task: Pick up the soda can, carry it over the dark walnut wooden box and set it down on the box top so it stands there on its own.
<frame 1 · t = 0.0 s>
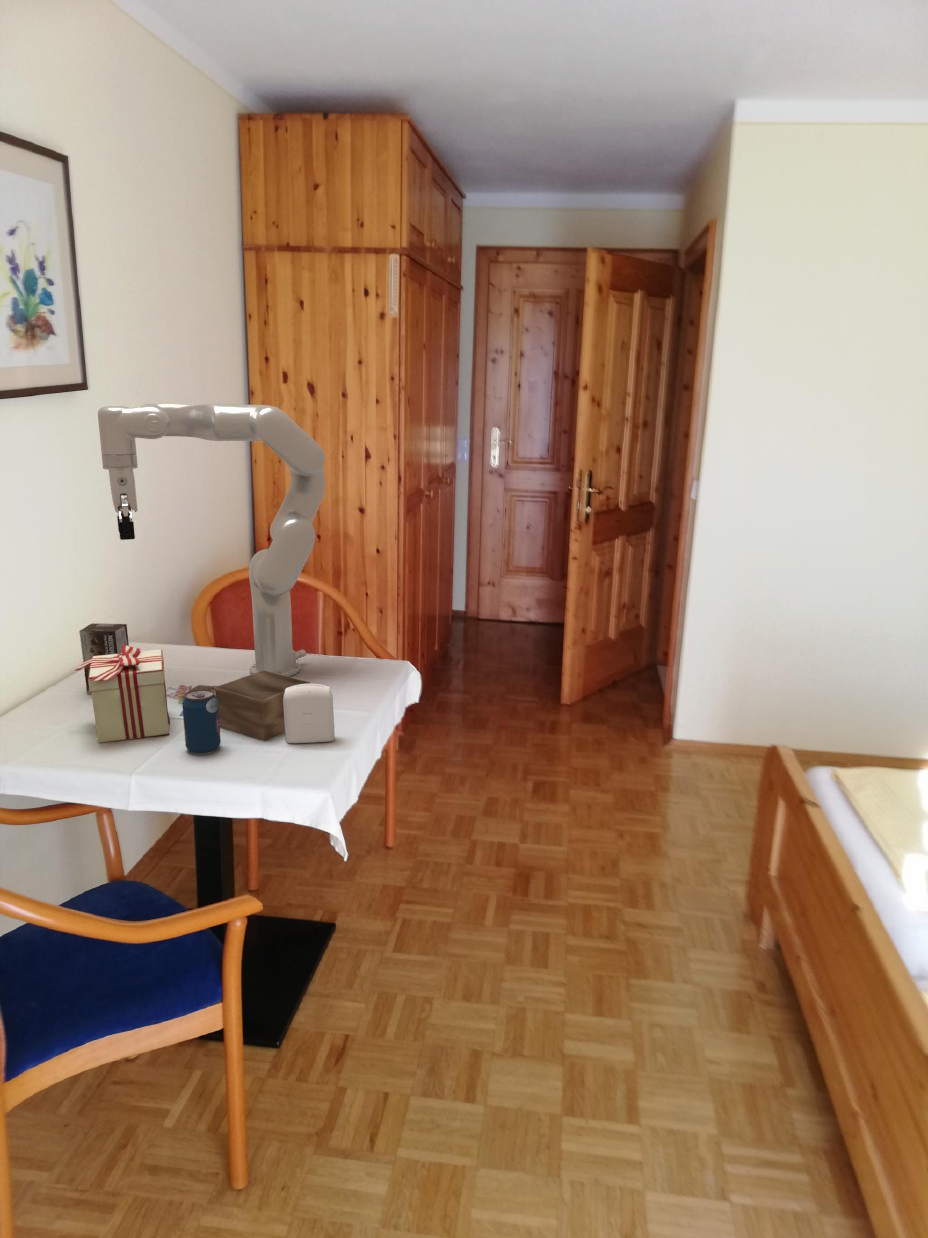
hand: (126, 535, 217), 37 cm above the table, tool pointing down, fingers open, 9 cm apart
photo printer: (310, 741, 195), on the table
walnut box: (264, 723, 204), on the table
coffee box: (110, 691, 224), on the table
soda can: (203, 750, 190), on the table
gift box: (127, 730, 201), on the table
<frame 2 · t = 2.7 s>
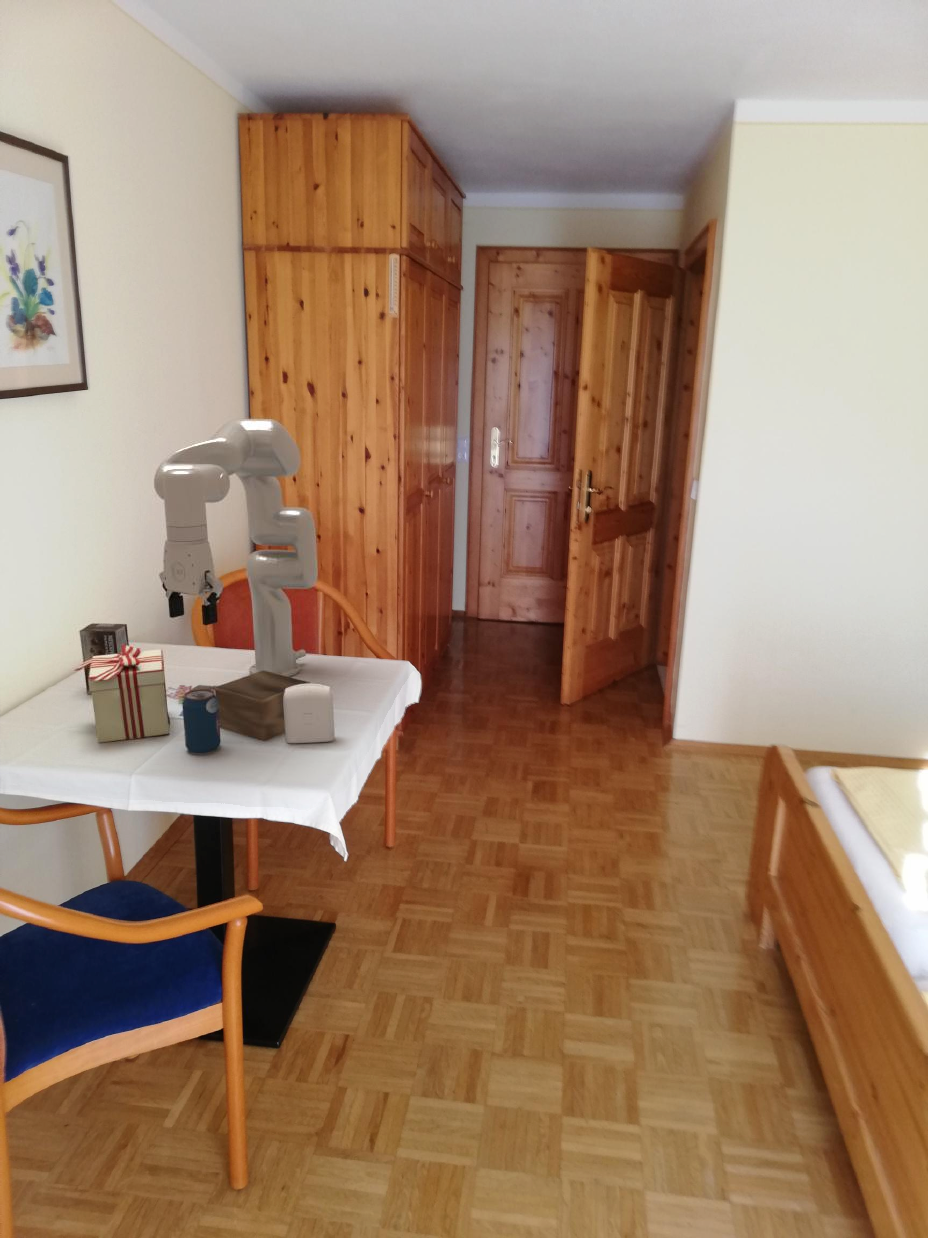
hand: (193, 620, 183), 27 cm above the table, tool pointing down, fingers open, 9 cm apart
nothing on the table moved.
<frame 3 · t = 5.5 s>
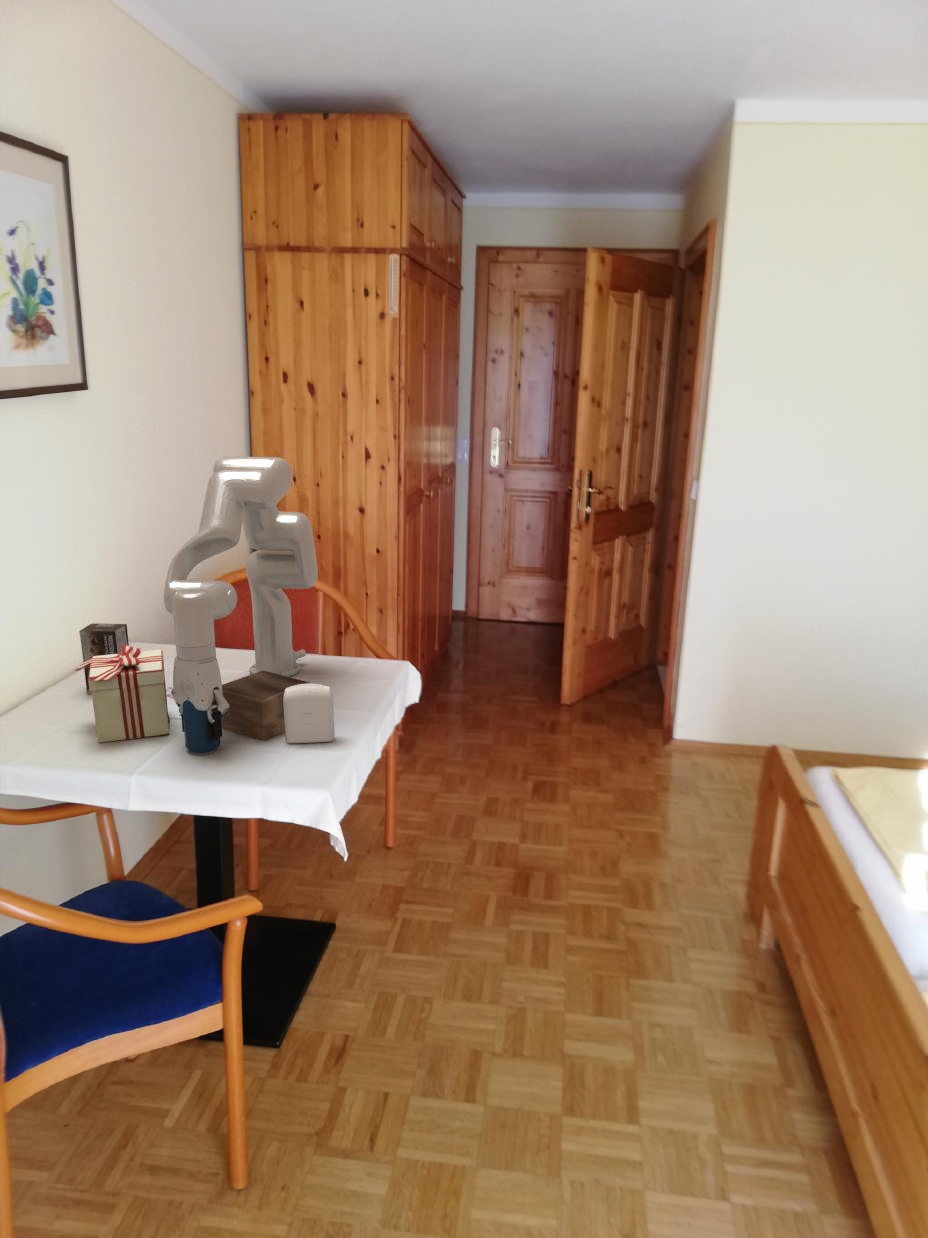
hand: (202, 734, 189), 3 cm above the table, tool pointing down, fingers closed on soda can, 7 cm apart
soda can: (203, 750, 190), on the table, touching gripper
everything else where it was.
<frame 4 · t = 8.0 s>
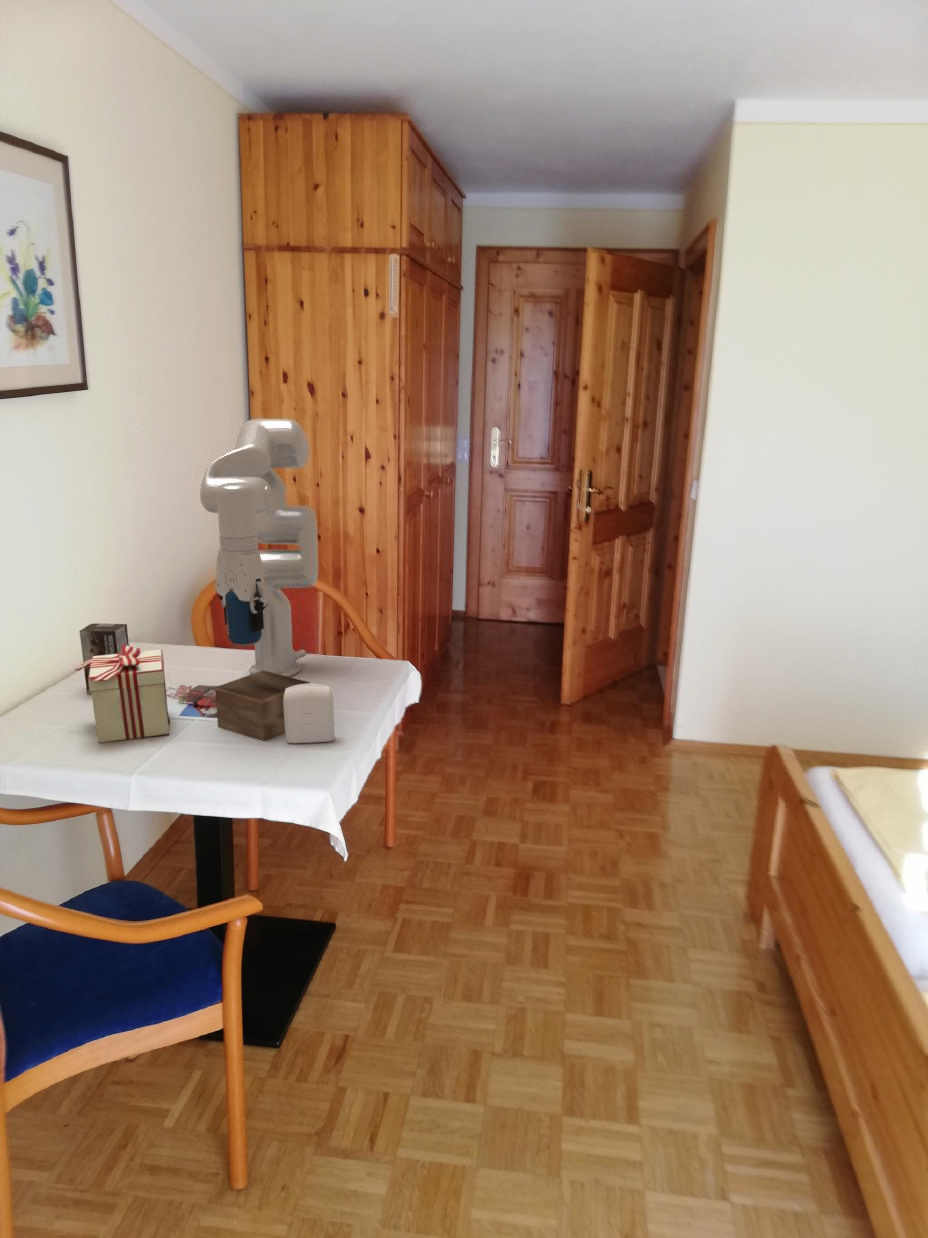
hand: (244, 626, 195), 23 cm above the table, tool pointing down, fingers closed on soda can, 7 cm apart
soda can: (245, 642, 196), point 19 cm above the table, touching gripper
everything else where it was.
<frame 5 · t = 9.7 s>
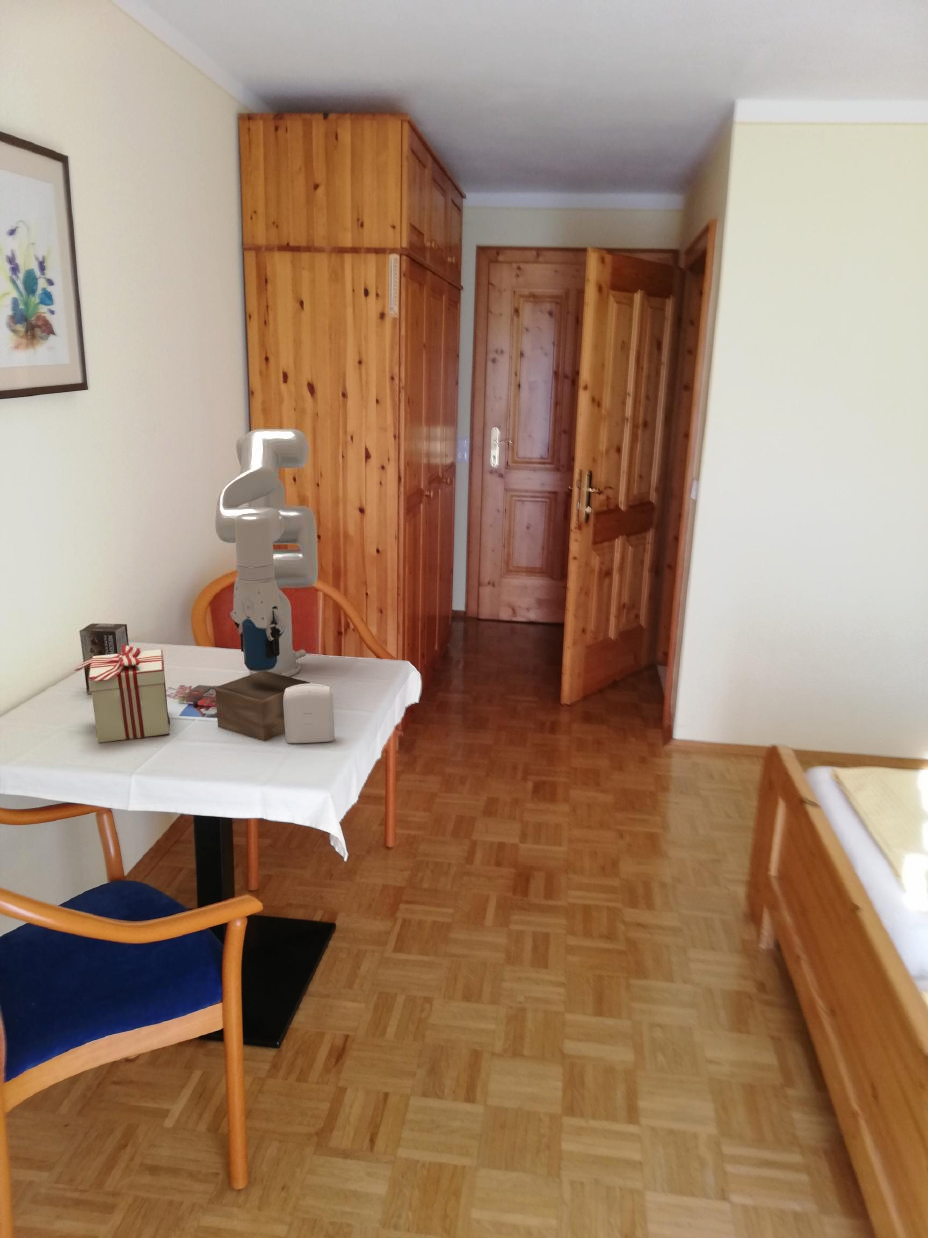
hand: (260, 653, 199), 16 cm above the table, tool pointing down, fingers closed on soda can, 7 cm apart
soda can: (261, 668, 200), point 13 cm above the table, touching gripper
everything else where it was.
when the fingers open (14 cm above the table, at t = 10.8 s): soda can drops 1 cm, resting on walnut box.
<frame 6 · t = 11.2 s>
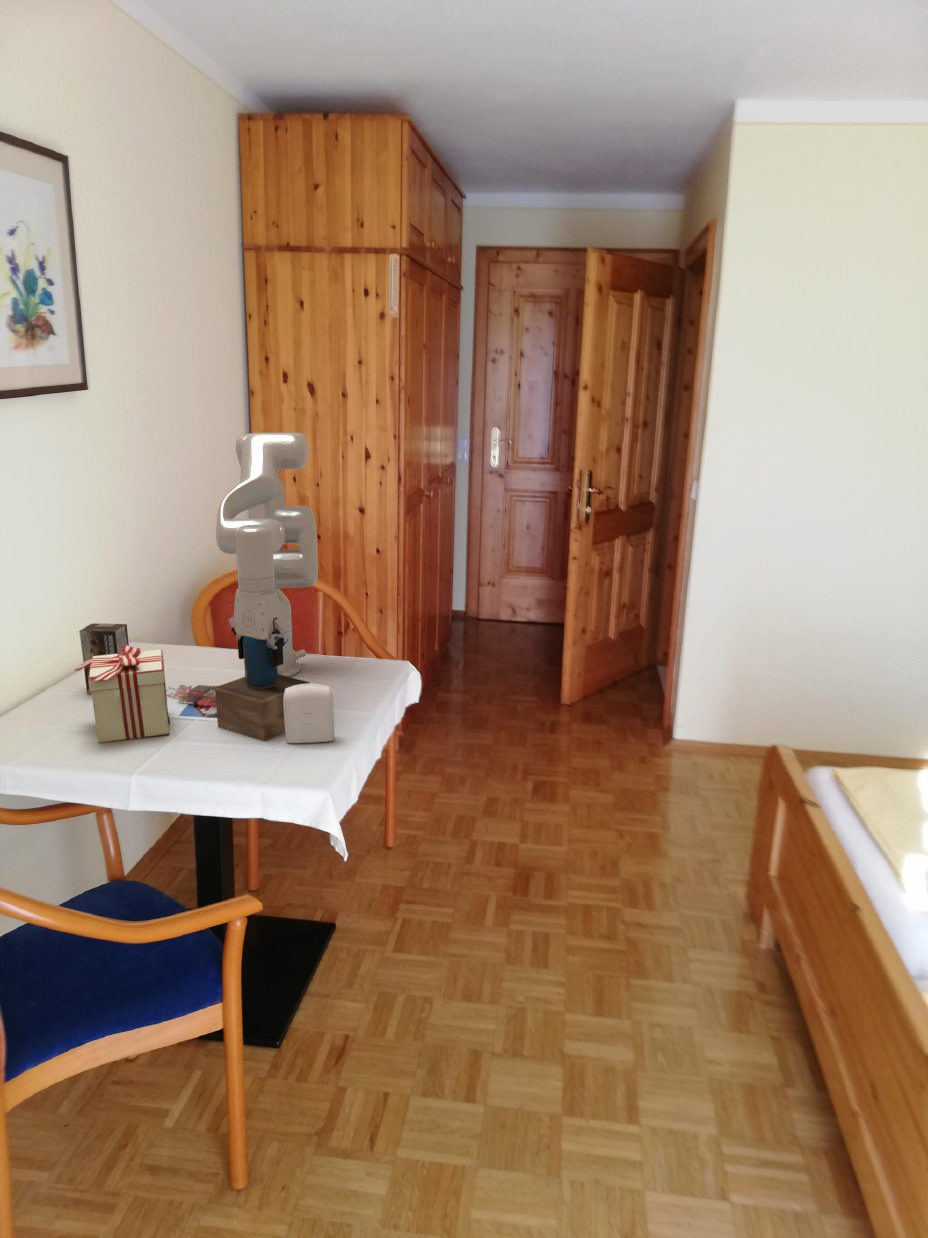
hand: (260, 661, 200), 14 cm above the table, tool pointing down, fingers open, 9 cm apart
soda can: (262, 685, 202), point 9 cm above the table, touching walnut box
everything else where it was.
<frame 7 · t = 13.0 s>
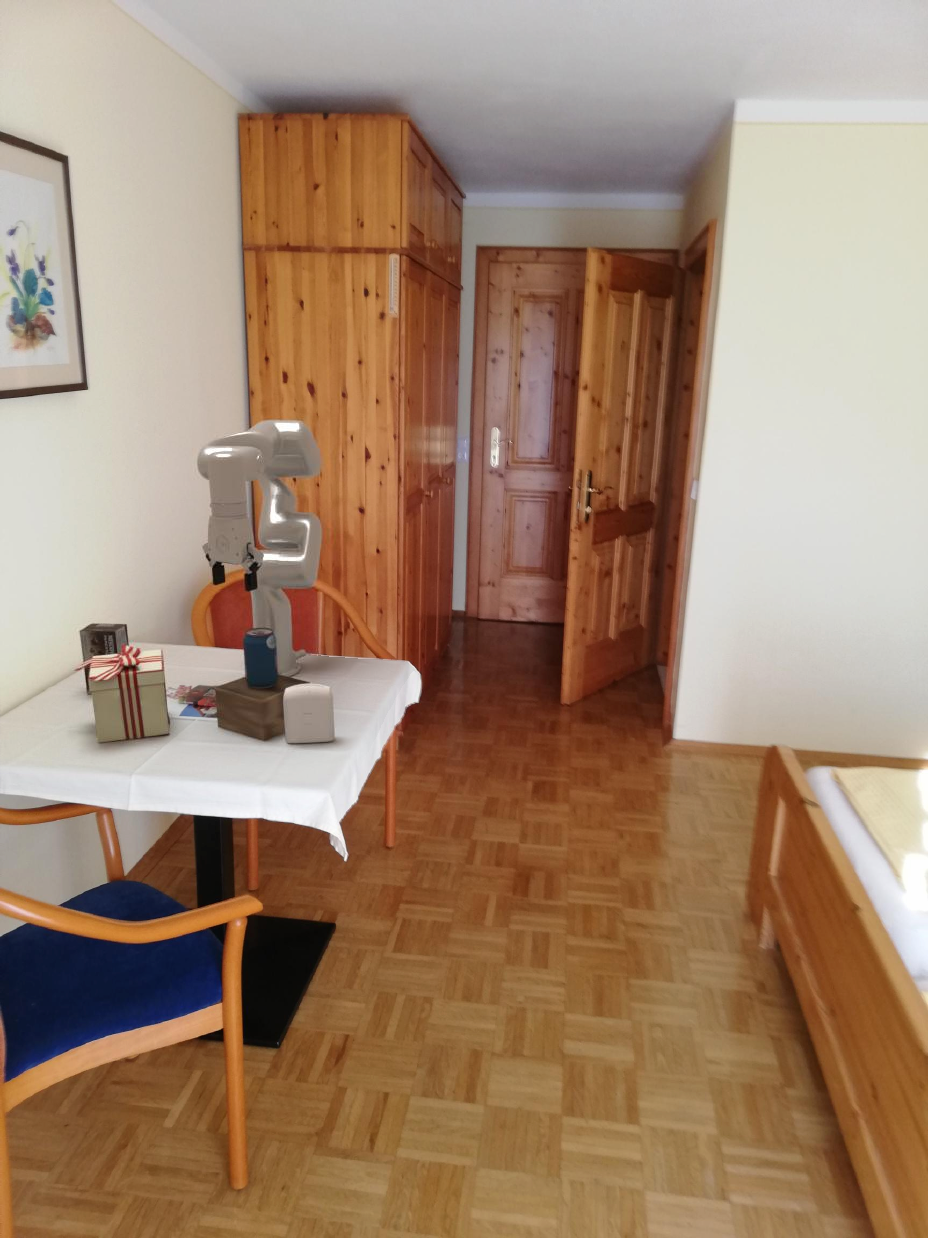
hand: (235, 586, 204), 29 cm above the table, tool pointing down, fingers open, 9 cm apart
nothing on the table moved.
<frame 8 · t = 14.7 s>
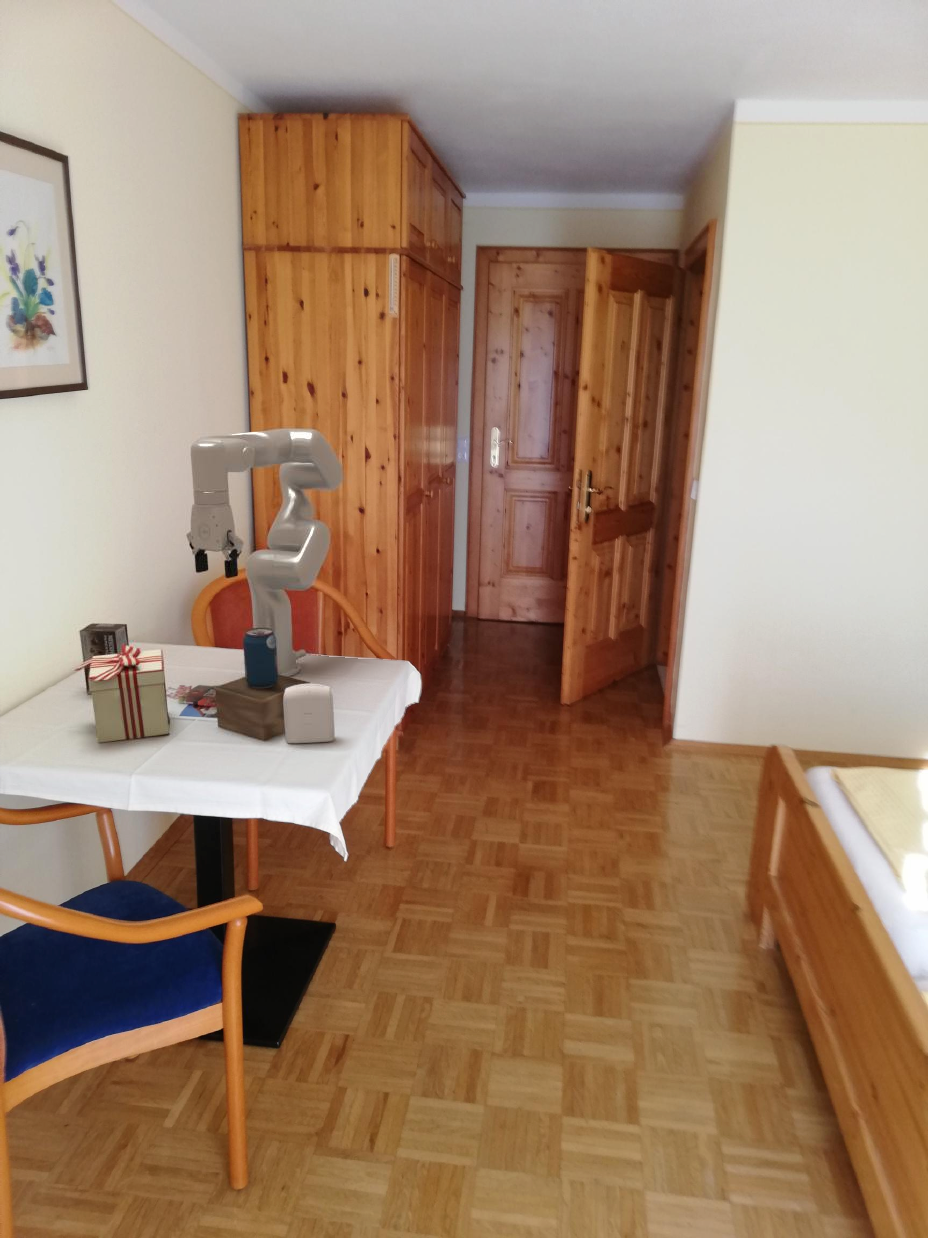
hand: (216, 574, 209), 30 cm above the table, tool pointing down, fingers open, 9 cm apart
nothing on the table moved.
at the end: soda can inside the target area on the walnut box (0.4 cm from its centre), point 8.8 cm above the walnut box's base; soda can tilted 0°; the gripper is holding nothing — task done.
